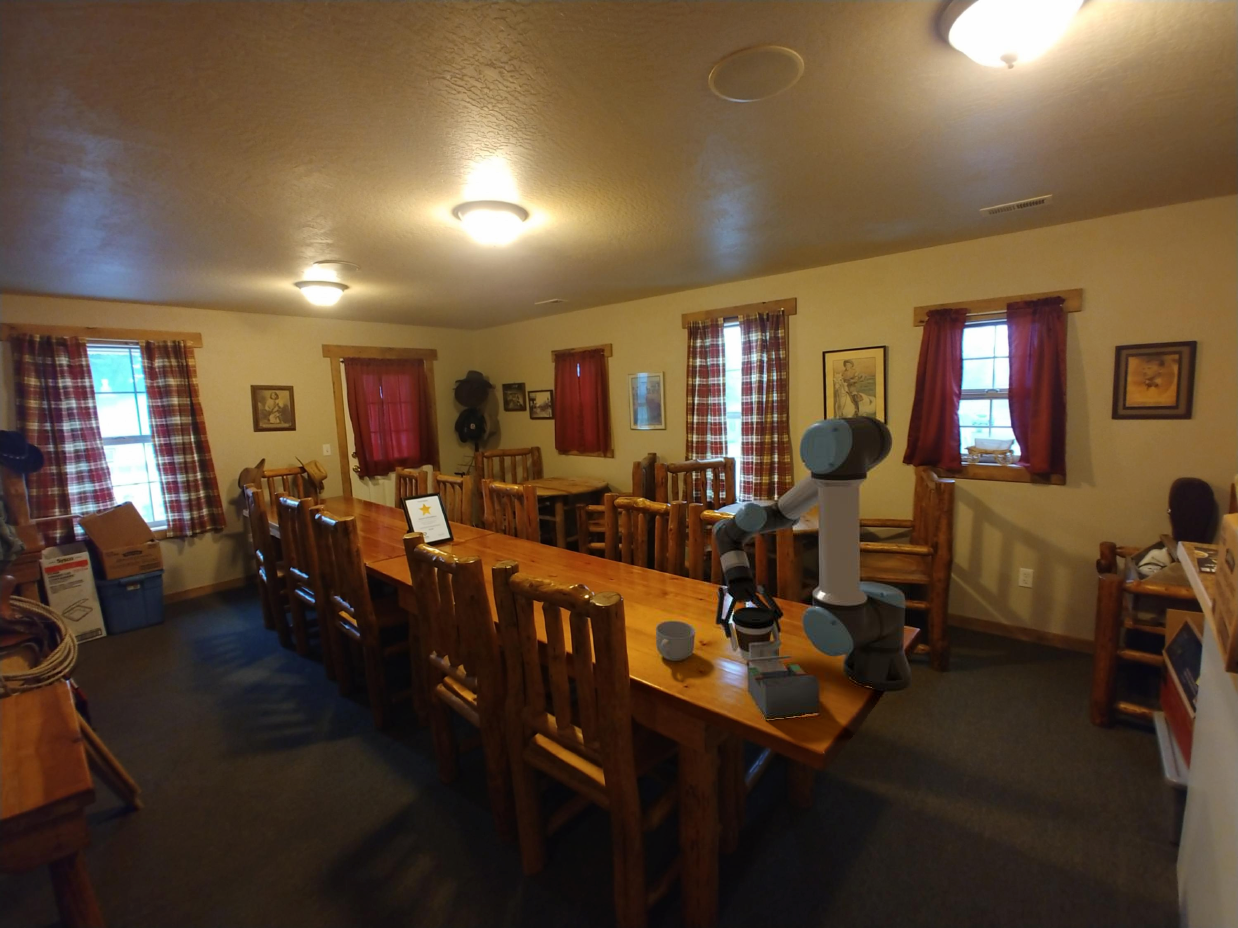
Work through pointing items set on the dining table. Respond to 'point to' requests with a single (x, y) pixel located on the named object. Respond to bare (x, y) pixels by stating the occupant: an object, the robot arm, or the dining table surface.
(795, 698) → the grey box
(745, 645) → the coffee cup
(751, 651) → the grey bracket with plate
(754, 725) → the dining table surface
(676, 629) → the teacup
